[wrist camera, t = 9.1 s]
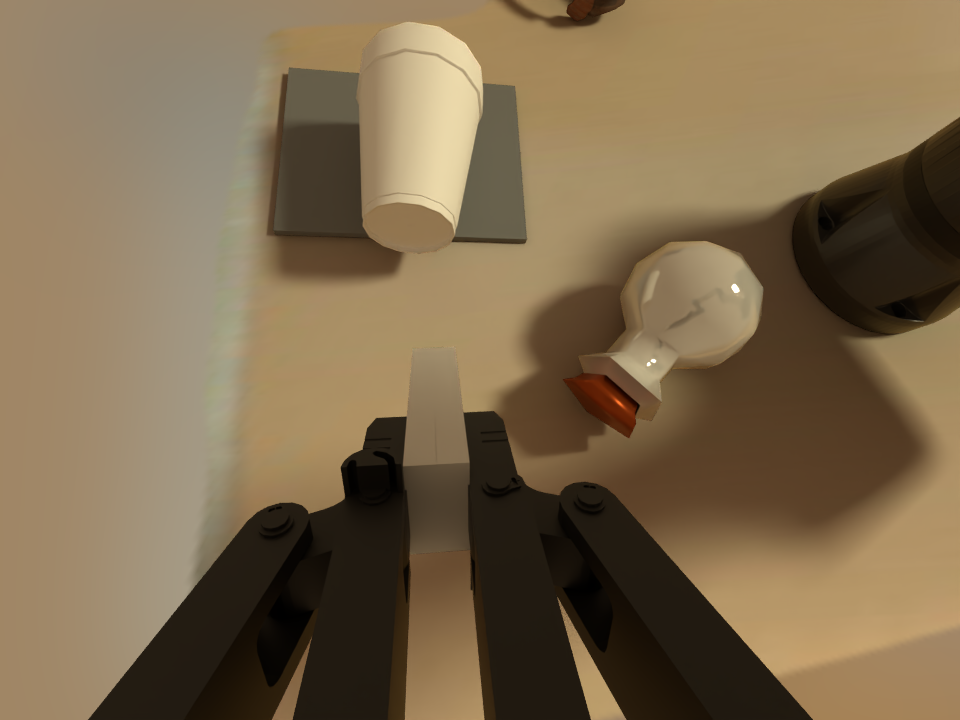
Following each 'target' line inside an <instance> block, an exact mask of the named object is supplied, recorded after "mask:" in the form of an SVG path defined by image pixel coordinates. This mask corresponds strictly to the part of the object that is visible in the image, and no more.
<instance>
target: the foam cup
mask: <svg viewBox="0 0 960 720" xmlns="http://www.w3.org/2000/svg"><path fill="white" fill-rule="evenodd" d="M356 99H357V102H358V104H359V125H360V162H361V200H362V218H363V225H362V226H363V227H364V229H365V231H366V232H367V234H368V236H369V237H370V238H372V239H373V240H375V241H376V242H377V243H379V244H380V245H382V246H384V247H387V248H390V249H393V250H396V251H399V252H407V253H417V254H421V253H428V252H435V251H438V250H440V249H442V248H444V247H446V246H448V245H449V244H450V243H451V241H452V239H453V238H454V236H455V230H456V228H457V225H458V220H459V215H460V210H461V205H462V200H463V195H464V190H465V185H466V180H467V175H468V170H469V165H470V160H471V155H472V151H473V146H474V141H475V136H476V131H477V126H478V123H479V121H480V119H481V117H482V109H483V84H482V74H481V67H480V65H479V64H478V62H477V60H476V59H475V57H474V56H473V54H472V53H471V51H470V50H469V48H468V47H467V45H466V44H465V43H464V42H462V41H461V40H459V39H458V38H456V37H454V36H453V35H451V34H450V33H448V32H447V31H445V30H444V29H442V28H440V27H438V26H432V25H426V24H419V23H413V22H405V23H402V24H399V25H395V26H392V27H389V28H386V29H383V30H380V31H379V32H378V33H377V34H376V35H375V36H374V38H373V39H372V40H371V41H370V42H369V43H368V44H367V46H366V47H365V48H364V49H363V53H362V60H361V66H360V73H359V81H358V88H357V95H356Z"/></svg>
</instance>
